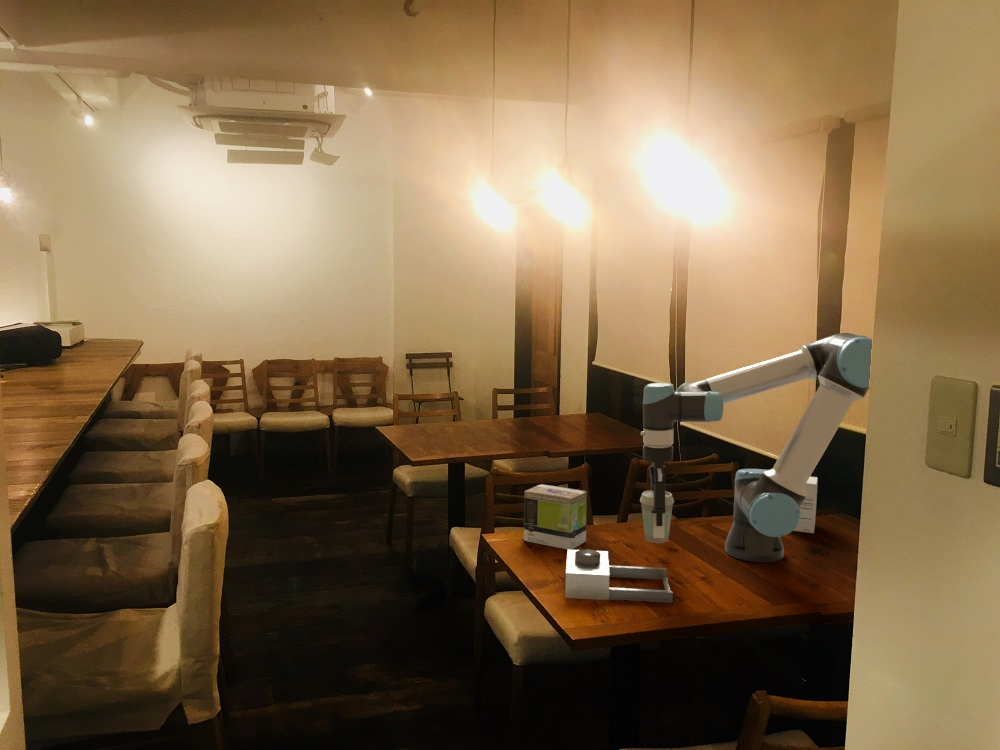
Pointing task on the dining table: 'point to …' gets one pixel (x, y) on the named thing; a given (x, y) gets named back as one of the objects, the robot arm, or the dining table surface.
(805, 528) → the supplement box
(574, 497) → the tea box
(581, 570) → the button box with rail
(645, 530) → the coffee cup
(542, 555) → the dining table surface
